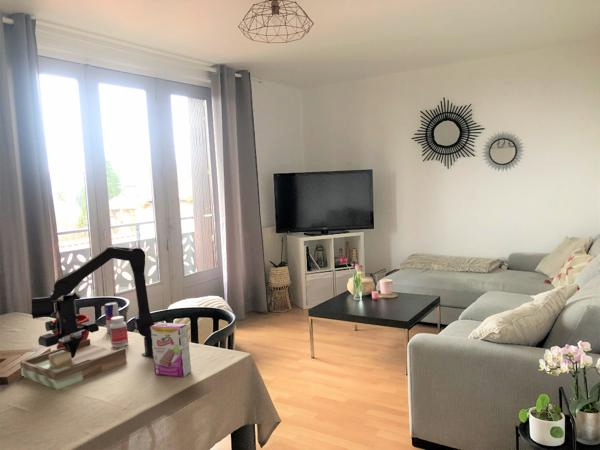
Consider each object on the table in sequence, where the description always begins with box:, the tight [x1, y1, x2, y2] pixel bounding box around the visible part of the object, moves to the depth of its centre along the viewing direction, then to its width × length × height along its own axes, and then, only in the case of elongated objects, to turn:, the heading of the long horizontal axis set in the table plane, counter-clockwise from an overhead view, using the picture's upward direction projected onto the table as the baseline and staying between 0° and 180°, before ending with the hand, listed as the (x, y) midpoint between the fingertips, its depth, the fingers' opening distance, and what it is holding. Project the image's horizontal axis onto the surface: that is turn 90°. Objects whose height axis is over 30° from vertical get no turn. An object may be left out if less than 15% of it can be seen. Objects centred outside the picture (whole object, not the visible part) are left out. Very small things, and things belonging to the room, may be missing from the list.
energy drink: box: [104, 301, 120, 333], centre depth 212 cm, size 5×5×12 cm
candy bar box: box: [150, 321, 192, 378], centre depth 161 cm, size 11×5×16 cm, turn 71°
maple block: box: [49, 350, 72, 369], centre depth 167 cm, size 5×5×4 cm
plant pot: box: [52, 313, 90, 350], centre depth 192 cm, size 13×13×12 cm
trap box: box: [19, 338, 128, 391], centre depth 171 cm, size 23×25×5 cm
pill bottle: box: [110, 315, 129, 348], centre depth 193 cm, size 6×6×11 cm
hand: (72, 357), depth 171 cm, fingers closed
